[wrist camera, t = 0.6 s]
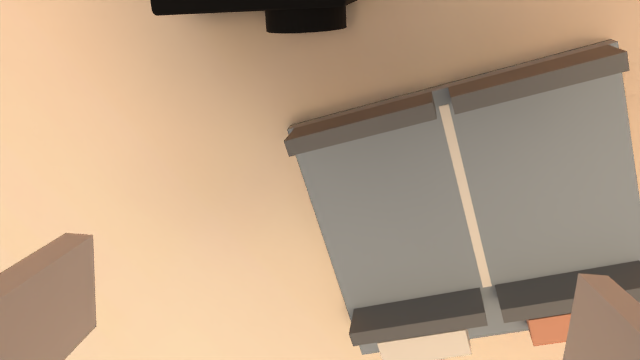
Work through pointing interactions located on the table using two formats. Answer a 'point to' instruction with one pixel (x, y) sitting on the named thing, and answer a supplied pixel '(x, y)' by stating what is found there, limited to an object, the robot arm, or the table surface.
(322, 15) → the digital camera
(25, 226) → the table surface
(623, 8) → the table surface
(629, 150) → the docking board
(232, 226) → the table surface
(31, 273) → the robot arm
